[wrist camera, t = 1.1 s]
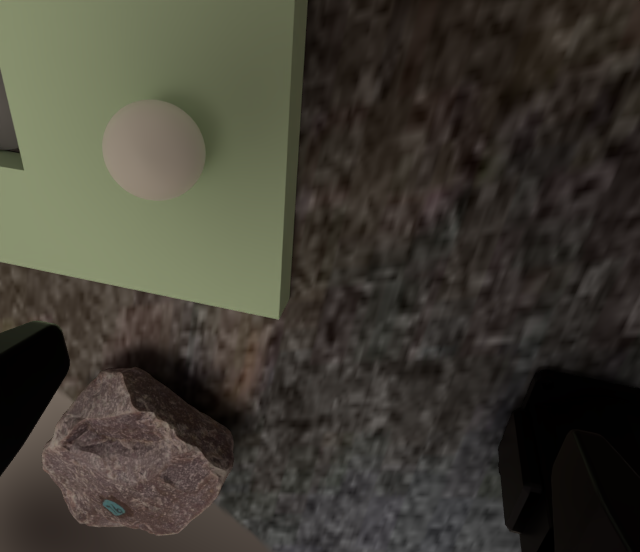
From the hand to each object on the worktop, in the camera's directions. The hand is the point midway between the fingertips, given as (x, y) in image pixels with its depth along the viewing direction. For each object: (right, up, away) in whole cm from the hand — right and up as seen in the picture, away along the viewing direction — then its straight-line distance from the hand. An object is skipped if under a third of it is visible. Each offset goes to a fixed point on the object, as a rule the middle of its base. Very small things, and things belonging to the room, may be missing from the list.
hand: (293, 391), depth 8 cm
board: (-9, +9, +12) cm, 17 cm away
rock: (-12, -7, +23) cm, 27 cm away
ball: (-5, +6, +8) cm, 11 cm away
